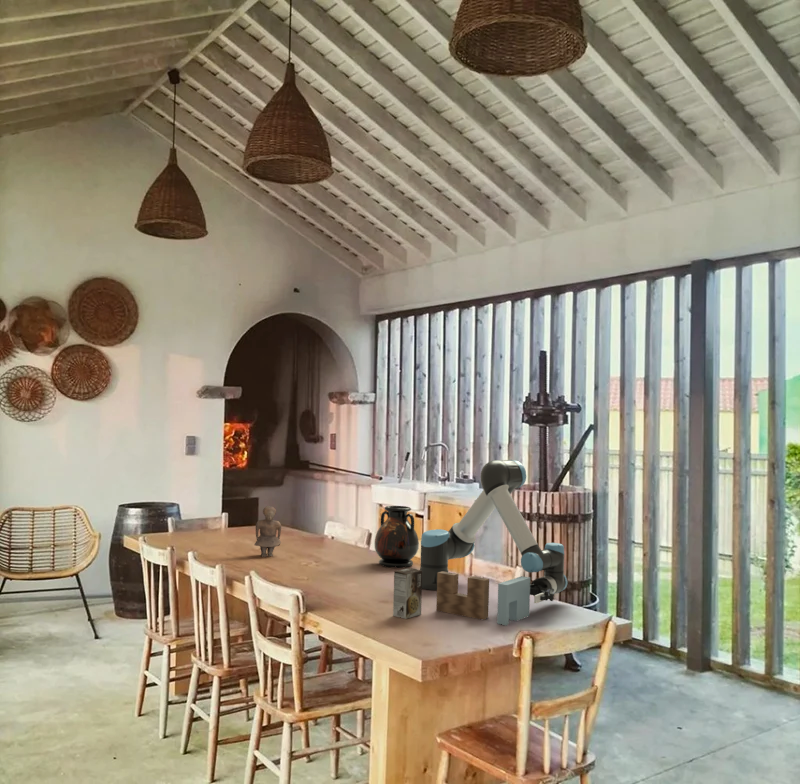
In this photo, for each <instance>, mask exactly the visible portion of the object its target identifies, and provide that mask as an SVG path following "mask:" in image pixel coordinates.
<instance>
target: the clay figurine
mask: <svg viewBox="0 0 800 784" xmlns="http://www.w3.org/2000/svg"><path fill="white" fill-rule="evenodd" d="M262 514H263V515H264V519H260V520H257V522H256V523H255V539H256V541H255V542H254V546H257V547H259V548H260V553H261V554H260V555H261V557H262V558H265V557H267V556H268V557H269V558H271V557H270V556H272V557H274V554H273V552H274V550H275V547H279V546H280V545H281V543H282V542H281V540H280V538H281V535H282V533H281V532H282V524H281V522H280V521H279V520H275V515H277V509H276V508H275V507H274V506H272V505H271V506H270V505H267V506H265V507H264V508H263V510H262Z"/></svg>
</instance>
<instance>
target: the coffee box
mask: <svg viewBox="0 0 800 784" xmlns="http://www.w3.org/2000/svg"><path fill="white" fill-rule="evenodd" d="M393 573H394V574H393V577H394V578H393V602H392V603H393V605H392V606H393V607H392V608H393V609H392V616H393V617H397V618H400V617H401V619H403V620H405V619H406V620H407V619H410V618H413V617H417V616H420V615H422V598H423V597H422V595H423V594H422V592H423V589H422V570H420V569H417V568H413V567H406V568H401V569H399V570H394V571H393Z"/></svg>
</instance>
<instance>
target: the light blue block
mask: <svg viewBox="0 0 800 784" xmlns="http://www.w3.org/2000/svg"><path fill="white" fill-rule="evenodd" d="M530 584H531V577H529V576H523V575H522V576H518V577H515V578H512V579H509V580H506V581H503V582H499V583H498V584H497V585H498V586H497V613H496V614H497V617H496V618H497V619H496V624H497V623H498V624H497V625H501V624H502V625H503V626H508V624H510V621H513V620H515V621H514V622H518V621H521V620H523V619H525V618H524V617H526V618H528V617H530V605H531V604H530V602H531V597H530V596H531V595H530ZM527 616H528V617H527ZM522 618H523V619H522ZM509 619H510V620H509ZM520 619H521V620H520ZM517 620H518V621H517ZM502 625H501V626H502Z"/></svg>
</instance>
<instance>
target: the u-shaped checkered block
mask: <svg viewBox="0 0 800 784" xmlns="http://www.w3.org/2000/svg"><path fill="white" fill-rule="evenodd" d="M466 585H467V589H466V593H459V573H455V572H450V571H448V572H443V571H442V572H438V573H437V590H436V611H437V612H441V611H442V612H441V613H447V614H452V615H457V616H463V617H467V618H471V617H472V618H471V619H476V618H477V619H478V620H481V619H483V620H482V621H485V620H487V619H489V605H490V604H489V603H490V599H489V598H490V578H485V577H479V576H469V577H467V583H466ZM486 618H487V619H486ZM477 619H476V620H477ZM484 619H485V620H484Z"/></svg>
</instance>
